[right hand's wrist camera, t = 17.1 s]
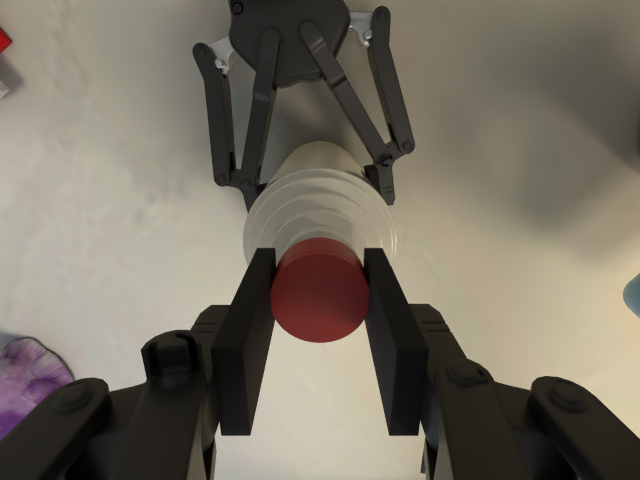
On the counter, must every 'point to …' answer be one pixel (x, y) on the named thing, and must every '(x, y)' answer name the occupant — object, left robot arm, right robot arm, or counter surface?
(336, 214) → the bottle
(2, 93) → the toy
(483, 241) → the counter surface
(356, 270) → the cap
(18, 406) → the figurine
